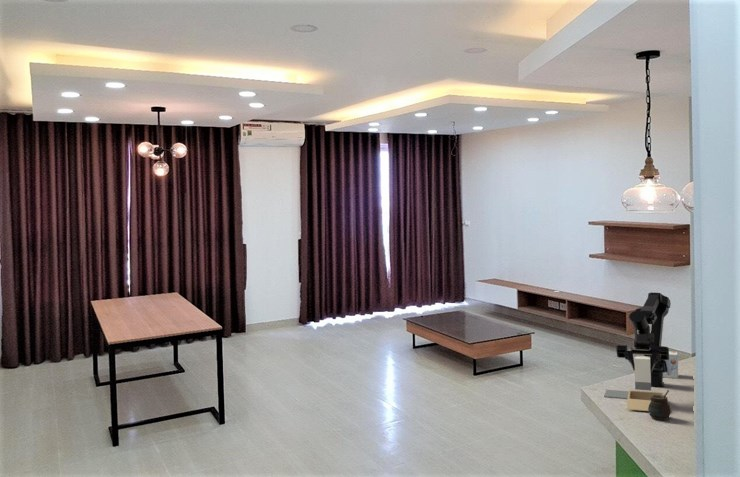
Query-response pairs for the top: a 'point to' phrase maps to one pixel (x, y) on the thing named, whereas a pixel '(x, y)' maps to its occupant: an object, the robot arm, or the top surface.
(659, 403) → the mate gourd
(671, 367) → the light bulb box
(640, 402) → the tan rectangular open frame
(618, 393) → the mat
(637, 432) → the top surface
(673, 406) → the top surface
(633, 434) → the top surface
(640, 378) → the box
